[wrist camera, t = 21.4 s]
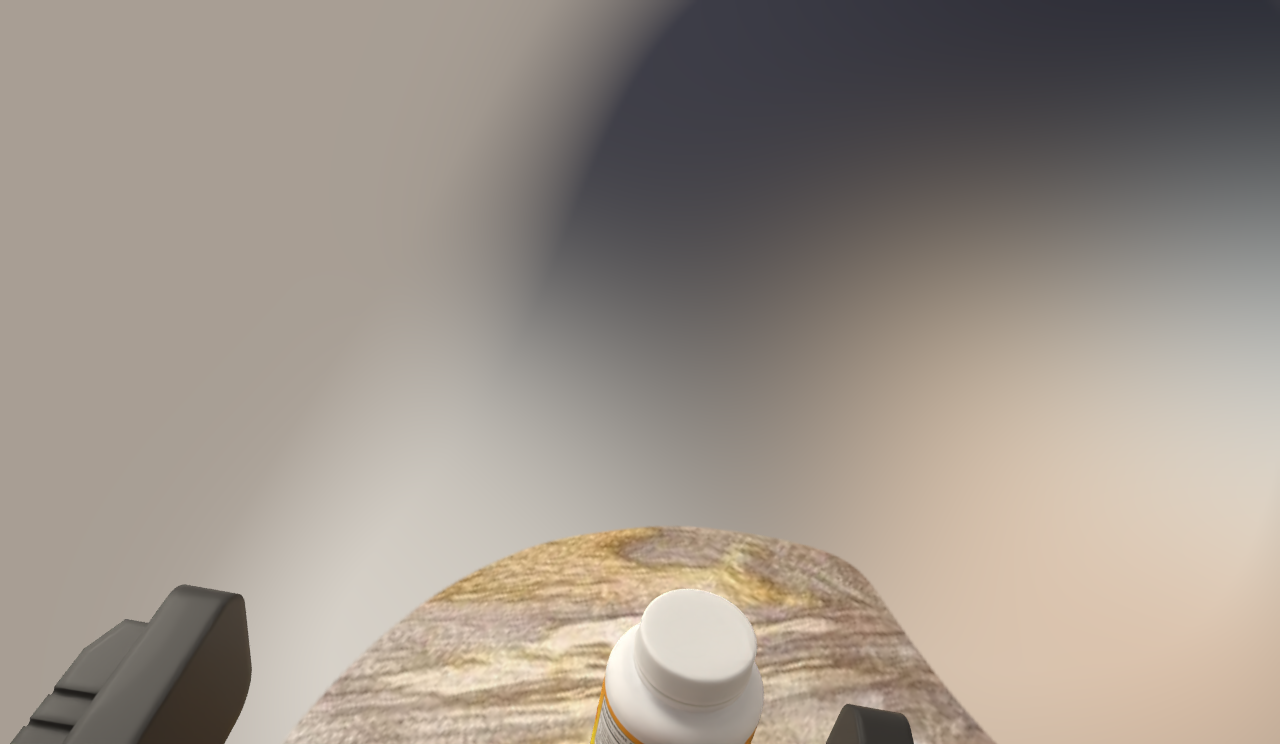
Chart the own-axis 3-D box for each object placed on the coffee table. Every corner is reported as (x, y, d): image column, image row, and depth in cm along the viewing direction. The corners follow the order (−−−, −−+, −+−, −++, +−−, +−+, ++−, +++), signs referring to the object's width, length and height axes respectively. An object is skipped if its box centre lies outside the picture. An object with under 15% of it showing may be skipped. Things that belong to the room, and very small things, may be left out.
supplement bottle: (668, 725, 37) (720, 553, 32) (745, 841, 34) (817, 667, 28) (552, 776, 34) (587, 596, 29) (621, 909, 31) (675, 730, 25)
